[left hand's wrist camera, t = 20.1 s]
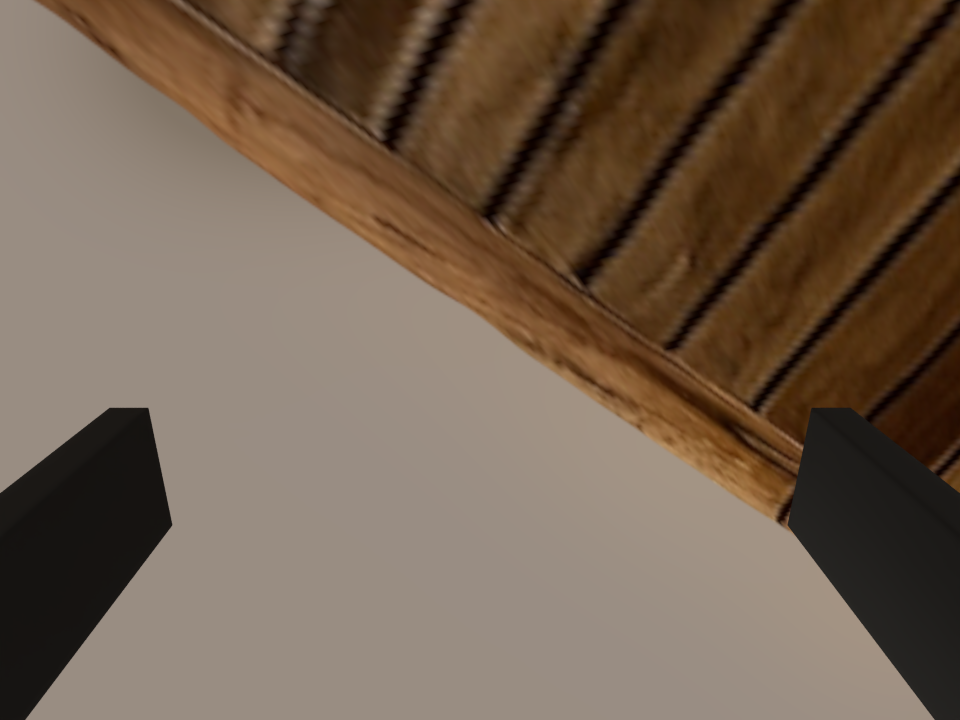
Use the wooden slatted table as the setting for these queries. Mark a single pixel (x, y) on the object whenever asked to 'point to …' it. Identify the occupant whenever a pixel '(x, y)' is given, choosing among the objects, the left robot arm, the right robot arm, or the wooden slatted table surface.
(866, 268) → the wooden slatted table surface
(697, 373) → the wooden slatted table surface
